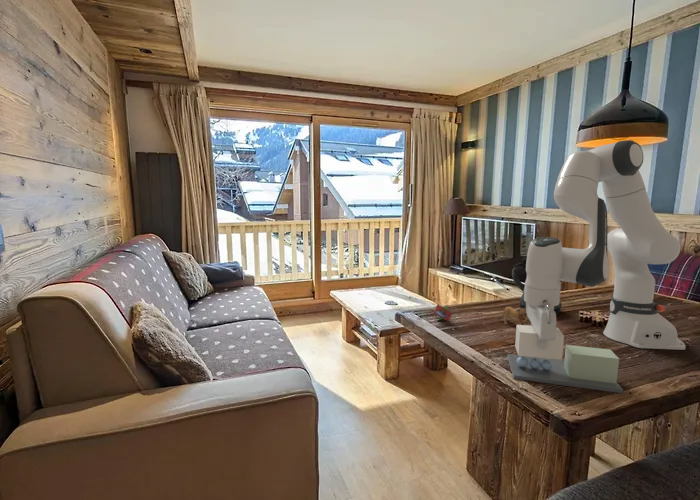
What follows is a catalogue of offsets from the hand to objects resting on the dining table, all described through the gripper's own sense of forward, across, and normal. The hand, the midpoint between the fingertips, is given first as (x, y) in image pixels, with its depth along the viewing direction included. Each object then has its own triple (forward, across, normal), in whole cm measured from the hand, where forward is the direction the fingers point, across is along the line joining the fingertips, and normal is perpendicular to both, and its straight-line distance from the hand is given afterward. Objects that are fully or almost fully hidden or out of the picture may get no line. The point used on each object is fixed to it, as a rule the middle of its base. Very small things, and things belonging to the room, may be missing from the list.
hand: (538, 342), depth 103 cm
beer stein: (+10, +62, -12) cm, 64 cm away
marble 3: (+8, 0, -2) cm, 8 cm away
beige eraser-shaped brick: (+3, 0, 0) cm, 3 cm away
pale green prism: (+8, 0, -13) cm, 15 cm away
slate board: (+9, +1, -6) cm, 11 cm away
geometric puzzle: (+9, +36, +28) cm, 46 cm away
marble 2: (+8, 0, +1) cm, 8 cm away
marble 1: (+8, 0, +4) cm, 9 cm away
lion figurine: (+9, +38, 0) cm, 40 cm away
